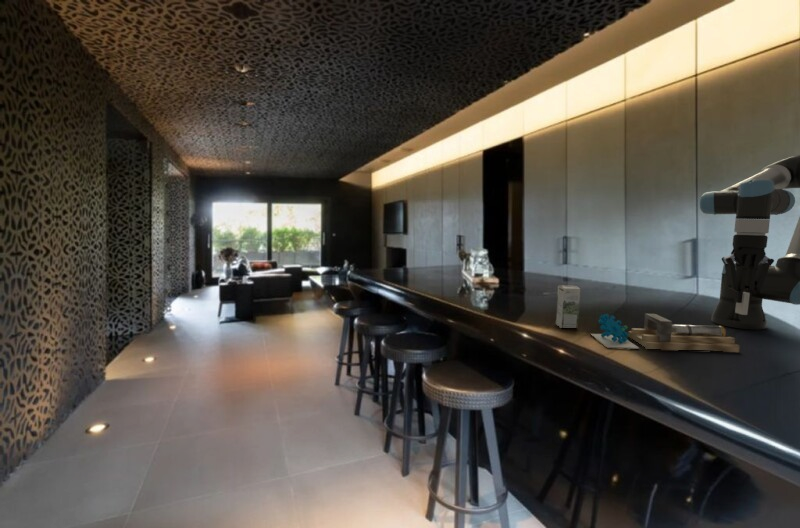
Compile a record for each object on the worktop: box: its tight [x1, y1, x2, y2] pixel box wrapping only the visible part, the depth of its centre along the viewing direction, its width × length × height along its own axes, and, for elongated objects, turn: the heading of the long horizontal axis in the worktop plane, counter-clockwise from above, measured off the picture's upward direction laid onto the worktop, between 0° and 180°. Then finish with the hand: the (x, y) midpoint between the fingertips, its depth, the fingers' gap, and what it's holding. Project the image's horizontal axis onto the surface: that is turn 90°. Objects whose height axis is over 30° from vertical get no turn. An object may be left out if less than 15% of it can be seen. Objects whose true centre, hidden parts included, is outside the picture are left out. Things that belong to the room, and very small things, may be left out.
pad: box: [590, 333, 640, 350], centre depth 123 cm, size 9×13×1 cm
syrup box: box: [555, 285, 581, 329], centre depth 139 cm, size 6×6×14 cm
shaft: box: [671, 324, 727, 337], centre depth 120 cm, size 15×4×4 cm, turn 85°
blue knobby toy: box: [598, 313, 629, 343], centre depth 124 cm, size 11×6×10 cm
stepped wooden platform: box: [627, 313, 741, 353], centre depth 121 cm, size 25×12×8 cm, turn 85°
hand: (741, 313), depth 118 cm, fingers closed
